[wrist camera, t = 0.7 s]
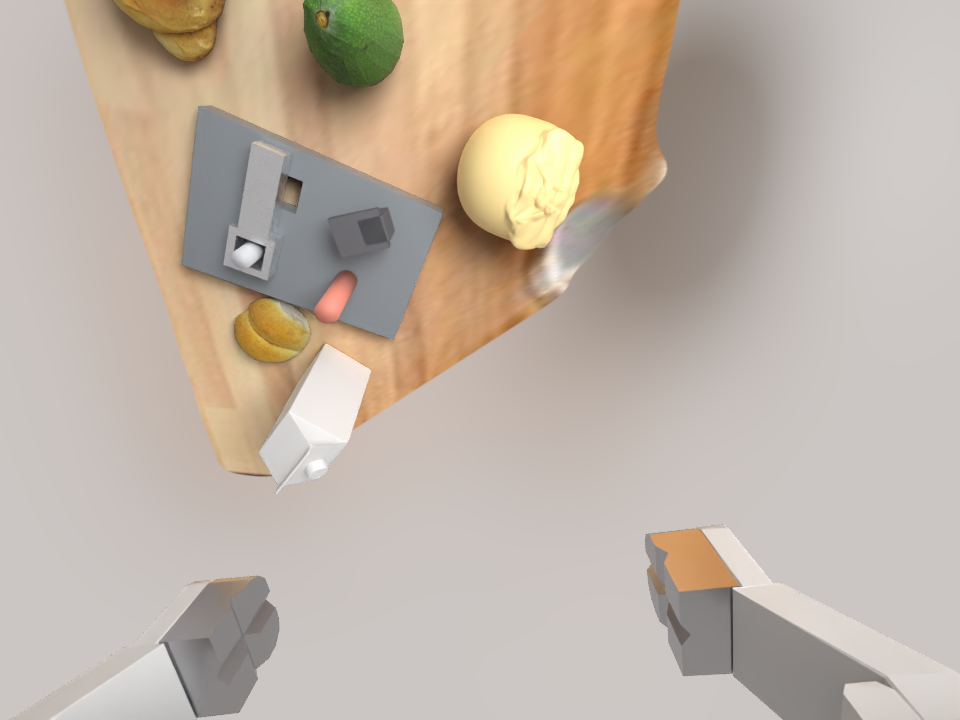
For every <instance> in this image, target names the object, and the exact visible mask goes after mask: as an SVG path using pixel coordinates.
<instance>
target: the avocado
mask: <svg viewBox="0 0 960 720" xmlns="http://www.w3.org/2000/svg"><path fill="white" fill-rule="evenodd" d="M303 8H304V32H305V35H306V38H307V42H308V45H309V48H310V51H311V52H312V54H313V55H314V57H315V58H316V60H317V61H318V62H319V64H320V65H321V66H322V68H323V69H324V70H325V72H327V73H328V74H329V75H330V76H331V77H332V78H334V79H335V80H336V81H337V82H338V83H342V84H346V85H350V86H355V87H364V86H373V85H376V84H378V83H379V82H381V81H382V80H383V79H384V78H385V77H387V76H388V75H389V74H390V73H391V72H392V71H393V69H394V67H395V65H396V63H397V62H398V60H399V58H400V55H401V51H402V47H403V43H404V37H403V28H402V21H401V18H400V14H399V12H398V10H397V7H396V6H395V4H394V3H393V2H392V0H304V3H303Z"/></svg>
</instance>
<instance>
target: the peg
mask: <svg viewBox="0 0 960 720" xmlns="http://www.w3.org/2000/svg"><path fill="white" fill-rule="evenodd" d="M356 285H357V277H356V275H355V274H354V273H353V272H351V271H348V270H343V271H341V272H339V273H338V275H337V276H336V277H335V279H334V280H333V282H332V283H331V285H330V286H329V288H328V289H327V291H326V292H325V294H324V295H323V297H322V298H321V299H320V301H319V302H318V304H317V305H316V307H315V315H316V317H317V318H318V319H319V320H320V321H321V322H323V323H327V324H331V323H334V322H336V321H337V320H338V318H339V316H340V315H341V313H342V311H343V309H344V307H345V305H346V304H347V302H348V300H349V298H350V296H351V294H352V293H353V291H354V289H355V287H356Z"/></svg>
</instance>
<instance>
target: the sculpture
mask: <svg viewBox="0 0 960 720" xmlns="http://www.w3.org/2000/svg"><path fill="white" fill-rule="evenodd" d="M583 152H584V146H583V144H582V143H581V142H580V141H577V140H576V139H575V138H574V137H573V136H571V135H570V134H569V133H568V132H566V131H564V130H563V129H560V128H558V127H556V126H555V125H553V124H551V123H549V122H546V121H543V120H540V119H537V118H534V117H530V116H526V115H521V114H506V115H500V116H497V117H494V118H492V119H490V120H488V121H486V122H485V123H483V124H482V125H481V126H480V127H478V128H477V129H476V131H475V132H474V133H473V134H472V135H471V137H470V138H469V140H468V142H467V143H466V145H465V147H464V149H463V152H462V155H461V158H460V161H459V166H458V172H457V189H458V195H459V199H460V202H461V204H462V207H463V209H464V210H465V212H466V214H467V215H468V216H469V217H470V219H471V220H472V221H473V222H474V223H476V224H477V225H478V226H479V227H481V228H482V229H484V230H486V231H487V232H489V233H492V234H494V235H496V236H499V237H501V238H504V239H506V240H510V241H511V243H512V244H513V246H514V247H516V248H517V249H521V250H528V249H534V248H543V247H545V246H547V245H548V243H549V242H550V240H551V238H552V235H553V232H554V229H555V228H556V227H557V226H558V225H560V224H561V223H562V222H563V221H564V220H565V218H566V216H567V213H568V211H569V208H570V207H571V206H572V204H573V203H574V200H575V193H576V190H577V188H578V185H579V170H578V167H579V165H580V162H581V160H582V157H583Z"/></svg>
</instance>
